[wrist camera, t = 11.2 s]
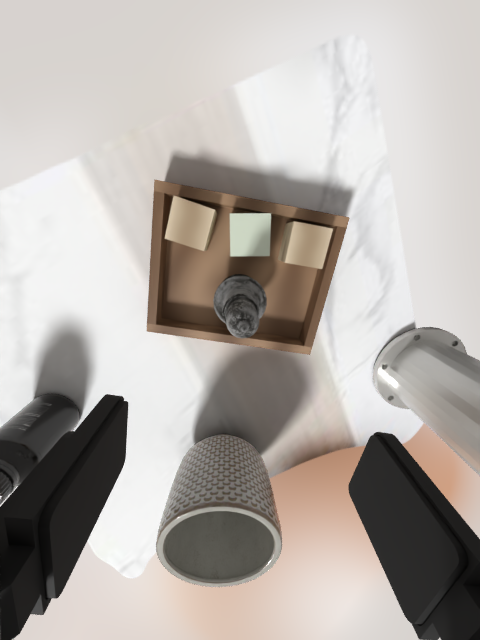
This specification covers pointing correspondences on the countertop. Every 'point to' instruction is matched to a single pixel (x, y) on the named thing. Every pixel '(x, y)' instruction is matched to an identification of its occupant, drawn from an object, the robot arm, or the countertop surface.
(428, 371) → the robot arm
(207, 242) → the cube
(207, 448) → the planter
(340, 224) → the tray
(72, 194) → the countertop surface
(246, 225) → the cube
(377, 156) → the countertop surface
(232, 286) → the salt shaker
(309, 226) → the cube
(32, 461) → the supplement bottle
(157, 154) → the countertop surface
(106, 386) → the countertop surface
